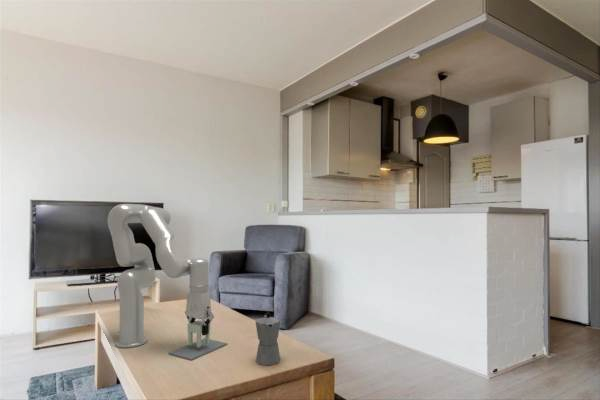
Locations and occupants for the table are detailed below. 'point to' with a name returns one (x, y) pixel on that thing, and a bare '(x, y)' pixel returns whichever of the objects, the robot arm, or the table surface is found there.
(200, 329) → the pale green stool
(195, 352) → the mat
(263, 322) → the coffeepot
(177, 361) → the table surface
